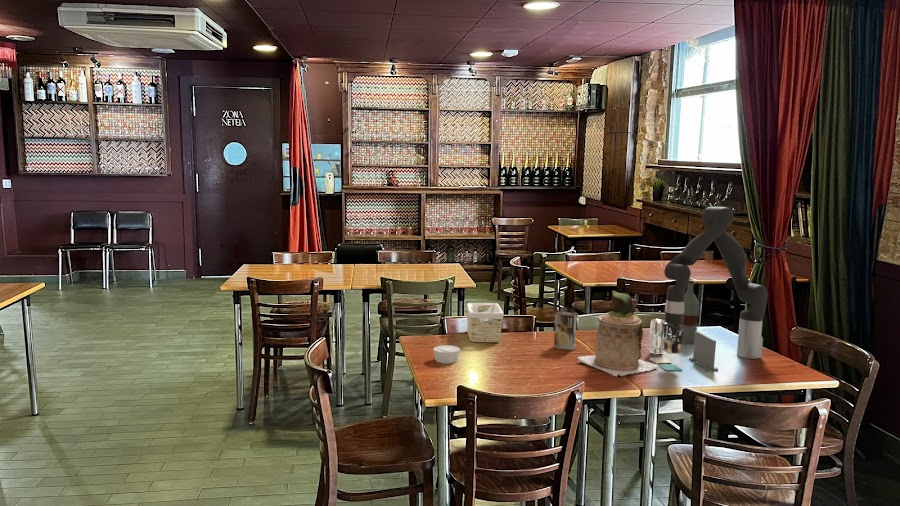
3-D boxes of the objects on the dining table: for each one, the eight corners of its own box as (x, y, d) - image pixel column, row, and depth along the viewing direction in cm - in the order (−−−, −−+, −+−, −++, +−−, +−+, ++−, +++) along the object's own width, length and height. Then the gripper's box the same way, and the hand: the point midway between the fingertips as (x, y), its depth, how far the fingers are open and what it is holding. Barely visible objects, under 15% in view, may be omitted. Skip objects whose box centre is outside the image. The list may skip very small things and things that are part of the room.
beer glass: (665, 355, 301) (667, 323, 299) (649, 354, 302) (651, 321, 300) (663, 351, 308) (665, 319, 306) (647, 350, 309) (650, 318, 307)
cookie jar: (617, 378, 267) (622, 299, 263) (575, 362, 288) (578, 289, 284) (659, 369, 281) (665, 294, 276) (616, 354, 301) (620, 284, 297)
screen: (699, 359, 296) (701, 330, 294) (717, 370, 280) (720, 340, 279) (688, 359, 296) (690, 330, 294) (706, 371, 280) (709, 340, 278)
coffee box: (575, 347, 312) (577, 313, 309) (573, 350, 306) (574, 316, 303) (556, 344, 315) (558, 311, 313) (553, 348, 309) (554, 313, 307)
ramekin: (429, 362, 283) (429, 350, 282) (438, 355, 293) (439, 343, 292) (454, 366, 279) (454, 353, 278) (463, 358, 289) (463, 346, 288)
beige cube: (674, 350, 284) (675, 338, 283) (679, 353, 279) (680, 341, 278) (662, 350, 283) (663, 338, 282) (667, 353, 278) (668, 341, 278)
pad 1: (664, 359, 296) (664, 357, 296) (671, 363, 289) (671, 362, 289) (649, 359, 295) (649, 357, 295) (655, 364, 288) (656, 362, 288)
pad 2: (674, 365, 286) (674, 364, 286) (682, 371, 279) (682, 369, 279) (658, 366, 285) (658, 364, 285) (665, 371, 278) (666, 369, 278)
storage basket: (465, 330, 337) (466, 301, 335) (497, 331, 338) (498, 302, 336) (468, 343, 314) (469, 312, 312) (502, 344, 314) (504, 313, 312)
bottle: (698, 341, 327) (703, 280, 323) (694, 345, 319) (698, 283, 315) (678, 338, 332) (683, 278, 328) (674, 342, 324) (678, 281, 320)
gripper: (691, 315, 272) (687, 355, 274) (675, 307, 286) (672, 346, 289) (673, 315, 271) (670, 355, 274) (658, 307, 285) (655, 346, 288)
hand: (671, 350), depth 281 cm, fingers closed on beige cube, 5 cm apart
